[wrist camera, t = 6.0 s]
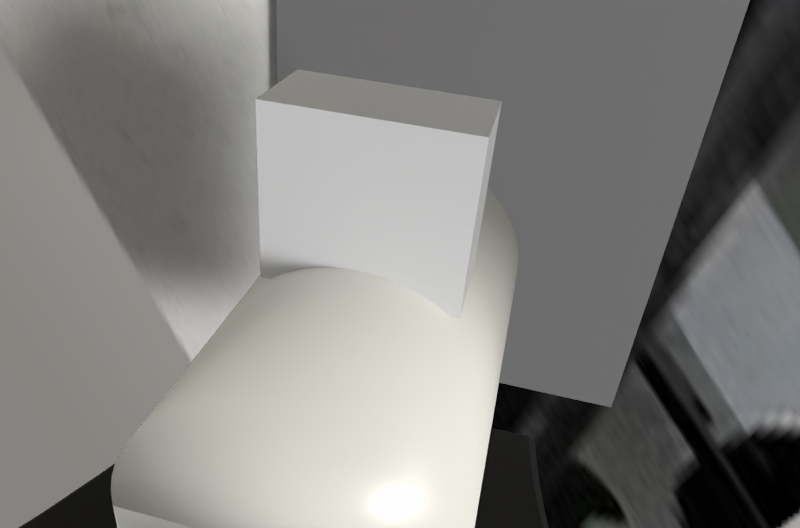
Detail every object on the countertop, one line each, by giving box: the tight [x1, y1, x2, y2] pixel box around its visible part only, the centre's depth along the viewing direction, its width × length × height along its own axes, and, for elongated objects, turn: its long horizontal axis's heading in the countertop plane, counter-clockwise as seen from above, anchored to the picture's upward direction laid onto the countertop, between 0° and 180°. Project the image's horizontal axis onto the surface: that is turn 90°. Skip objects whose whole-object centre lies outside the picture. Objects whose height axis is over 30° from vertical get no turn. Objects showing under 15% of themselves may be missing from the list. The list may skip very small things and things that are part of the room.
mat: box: [276, 0, 750, 407], centre depth 17 cm, size 11×10×1 cm
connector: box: [111, 69, 519, 528], centre depth 8 cm, size 10×3×5 cm, turn 175°
